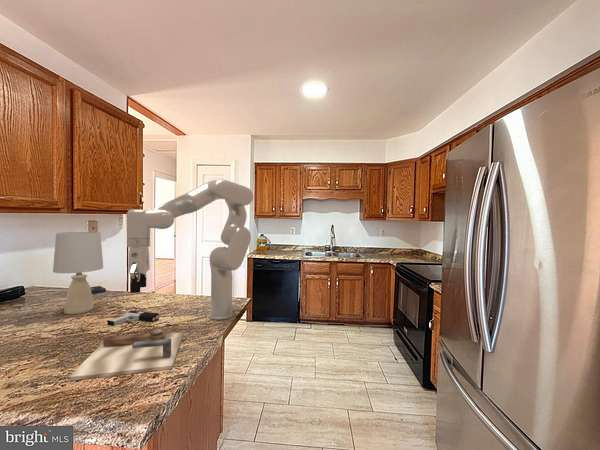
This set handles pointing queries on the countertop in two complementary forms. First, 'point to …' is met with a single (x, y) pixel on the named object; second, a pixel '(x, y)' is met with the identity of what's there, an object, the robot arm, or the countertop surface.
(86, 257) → the lamp
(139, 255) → the robot arm
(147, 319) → the toy gun
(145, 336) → the walnut link
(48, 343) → the countertop surface
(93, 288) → the disk drive
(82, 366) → the hinge board
